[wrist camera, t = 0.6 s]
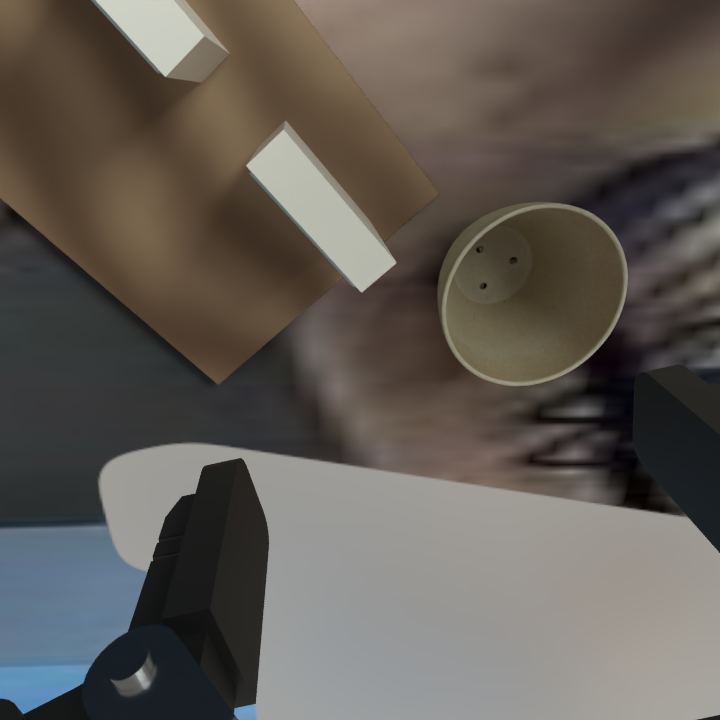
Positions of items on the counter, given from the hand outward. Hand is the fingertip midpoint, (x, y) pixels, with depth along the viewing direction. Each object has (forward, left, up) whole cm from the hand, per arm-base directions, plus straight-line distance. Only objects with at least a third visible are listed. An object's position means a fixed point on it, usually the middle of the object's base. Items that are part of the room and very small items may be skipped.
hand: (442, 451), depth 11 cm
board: (+4, -8, -24) cm, 25 cm away
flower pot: (-5, +8, -24) cm, 26 cm away
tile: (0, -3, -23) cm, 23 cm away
